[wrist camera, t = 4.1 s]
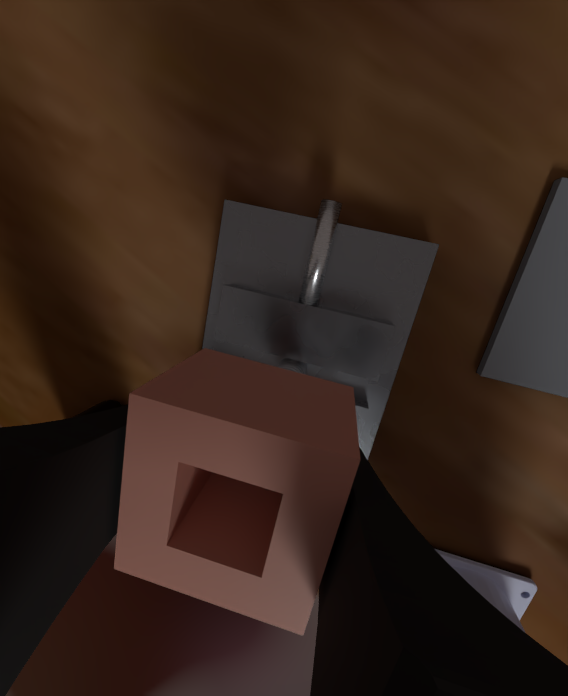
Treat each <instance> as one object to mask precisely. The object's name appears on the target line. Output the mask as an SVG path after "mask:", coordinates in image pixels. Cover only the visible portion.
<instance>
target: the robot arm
mask: <svg viewBox="0 0 568 696" xmlns="http://www.w3.org/2000/svg"><path fill="white" fill-rule="evenodd" d="M127 415H128V405H125V406H121V407H117V408H113V409H109V410H105V411H101V412H96V413H92V414H88V415H84V416H79V417H74V418H69V419H63V420H58V421H51V422H45V423H38V424H31V425H22V426H12V427H2V428H0V696H5V695H6V694H7V692H8V690H9V689H10V687H11V686H12V684H13V682H14V681H15V679H16V678H17V676H18V674H19V673H20V671H21V670H22V668H23V667H24V665H25V664H26V662H27V661H28V659H29V658H30V656H31V655H32V653H33V652H34V650H35V649H36V647H37V646H38V644H39V642H40V641H41V639H42V638H43V636H44V635H45V633H46V632H47V630H48V629H49V627H50V626H51V624H52V623H53V621H54V620H55V618H56V617H57V615H58V614H59V612H60V611H61V609H62V608H63V607H64V605H65V604H66V602H67V601H68V599H69V598H70V596H71V595H72V593H73V592H74V590H75V589H76V588H77V586H78V584H79V583H80V582H81V580H82V579H83V578H84V576H85V575H86V573H87V572H88V571H89V569H90V568H91V566H92V565H93V563H94V562H95V561H96V559H97V558H98V556H99V555H100V554H101V552H102V551H103V550H104V548H105V547H106V546H107V545H108V543H109V542H110V541H111V540H112V538H113V537H114V536H115V535H116V533H117V529H118V518H119V507H120V495H121V484H122V472H123V461H124V450H125V438H126V427H127ZM359 450H360V463H359V466H358V469H357V472H356V475H355V478H354V481H353V484H352V487H351V490H350V493H349V496H348V499H347V503H346V506H345V509H344V512H343V515H342V518H341V521H340V524H339V527H338V530H337V533H336V536H335V539H334V543H333V546H332V549H331V552H330V555H329V558H328V561H327V564H326V567H325V570H324V573H323V576H322V579H321V582H320V586H319V611H318V627H317V636H316V647H315V657H314V667H313V675H312V685H311V693H310V696H568V666H567V665H566V664H565V663H563V662H562V661H561V660H560V659H558V658H557V657H556V656H554V655H553V654H552V653H550V652H549V651H548V650H547V649H545V648H544V647H543V646H541V645H540V644H539V643H537V642H536V641H535V640H534V639H532V638H531V637H530V636H529V635H527V634H526V633H525V631H524V629H523V627H522V625H521V623H520V619H521V617H522V615H523V614H524V612H525V610H526V608H527V607H528V605H529V603H530V602H531V600H532V598H533V596H534V595H535V593H536V591H537V586H536V584H535V583H534V581H533V580H532V579H530V578H527V577H524V576H520V575H517V574H514V573H511V572H508V571H504V570H501V569H498V568H495V567H492V566H488V565H485V564H482V563H479V562H475V561H472V560H469V559H466V558H463V557H459V556H456V555H453V554H450V553H447V552H443V551H440V550H437V549H434V548H433V547H432V546H431V545H430V544H429V542H428V541H427V540H426V539H425V538H424V537H423V536H422V535H421V533H420V532H419V531H418V530H417V529H416V528H415V527H414V525H413V524H412V523H411V522H410V521H409V519H408V518H407V517H406V515H405V514H404V513H403V511H402V510H401V509H400V508H399V506H398V505H397V504H396V502H395V501H394V500H393V498H392V497H391V495H390V494H389V493H388V491H387V490H386V488H385V487H384V485H383V484H382V482H381V481H380V479H379V478H378V476H377V474H376V473H375V471H374V470H373V468H372V466H371V465H370V463H369V462H368V460H367V458H366V457H365V455H364V453H363V452H362V450H361V449H360V447H359Z"/></svg>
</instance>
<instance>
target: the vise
mask: <svg viewBox="0 0 568 696" xmlns="http://www.w3.org/2000/svg"><path fill="white" fill-rule="evenodd" d="M341 206H342V204H341V203H339V202H336V201H332V200H326V199H323V200H321V205H320V209H319V213H318V218H317V219H316V218H311V217H306V216H301V215H297V214H292V213H287V212H282V211H277V210H273V209H268V208H263V207H258V206H254V205H249V204H244V203H239V202H235V201H230V200H224V207H223V214H222V220H221V227H220V234H219V240H218V247H217V254H216V260H215V267H214V274H213V280H212V287H211V294H210V300H209V307H208V314H207V320H206V327H205V334H204V340H203V347H202V349H204V348H207V349H211V350H214V351H218V352H222V353H226V354H229V355H233V356H237V357H241V358H245V359H248V360H252V361H256V362H260V363H264V364H267V365H271V366H275V367H279V368H282V369H286V370H290V371H294V372H298V373H301V374H305V375H309V376H313V377H317V378H320V379H324V380H328V381H332V382H336V383H339V384H343V385H347V386H351V387H354V398H355V408H356V419H357V429H358V440H359V447H360V449H361V450H362V452H363V453H364V455H365V457H366V458H367V460H368V457H369V454H370V451H371V448H372V445H373V442H374V439H375V436H376V433H377V430H378V427H379V424H380V421H381V418H382V415H383V412H384V409H385V406H386V403H387V400H388V397H389V394H390V391H391V388H392V385H393V382H394V379H395V376H396V373H397V370H398V367H399V364H400V361H401V358H402V355H403V352H404V349H405V346H406V343H407V340H408V337H409V334H410V331H411V328H412V325H413V322H414V319H415V316H416V313H417V310H418V307H419V304H420V301H421V298H422V295H423V292H424V289H425V286H426V283H427V280H428V277H429V274H430V271H431V268H432V265H433V262H434V259H435V256H436V253H437V250H438V247H439V244H435V243H430V242H425V241H421V240H416V239H411V238H406V237H401V236H397V235H392V234H387V233H382V232H378V231H373V230H368V229H363V228H359V227H354V226H349V225H344V224H339V223H337V222H338V218H339V214H340V210H341Z"/></svg>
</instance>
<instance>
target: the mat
mask: <svg viewBox="0 0 568 696" xmlns="http://www.w3.org/2000/svg"><path fill="white" fill-rule="evenodd" d="M476 373H478V374H479V375H480V376H483V377H487V378H491V379H495V380H499V381H503V382H507V383H511V384H515V385H519V386H523V387H527V388H531V389H535V390H539V391H543V392H547V393H551V394H555V395H559V396H563V397H567V398H568V178H563V177H562V178H560V179H557V180H555V181H554V183H553V185H552V188H551V190H550V193H549V195H548V197H547V200H546V202H545V205H544V207H543V210H542V212H541V215H540V217H539V220H538V222H537V225H536V227H535V229H534V232H533V234H532V237H531V239H530V242H529V244H528V247H527V249H526V252H525V254H524V256H523V259H522V261H521V264H520V266H519V269H518V271H517V274H516V276H515V279H514V281H513V284H512V286H511V288H510V291H509V293H508V296H507V298H506V301H505V303H504V306H503V308H502V311H501V313H500V315H499V318H498V320H497V323H496V325H495V328H494V330H493V333H492V335H491V338H490V340H489V343H488V345H487V347H486V350H485V352H484V355H483V357H482V360H481V362H480V365H479V367H478V370H477V372H476Z"/></svg>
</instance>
